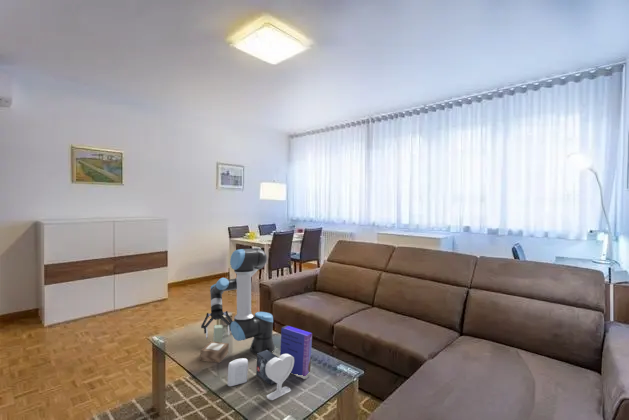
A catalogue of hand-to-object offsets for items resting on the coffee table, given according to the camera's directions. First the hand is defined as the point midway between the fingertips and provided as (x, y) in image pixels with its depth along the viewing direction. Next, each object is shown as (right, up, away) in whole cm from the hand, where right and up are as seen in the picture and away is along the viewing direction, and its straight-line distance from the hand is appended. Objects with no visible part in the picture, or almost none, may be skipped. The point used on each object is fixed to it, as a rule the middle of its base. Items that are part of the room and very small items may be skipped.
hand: (218, 336), depth 204 cm
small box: (+37, -9, -34) cm, 51 cm away
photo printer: (+22, -8, -40) cm, 46 cm away
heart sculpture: (+44, -9, -47) cm, 65 cm away
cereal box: (+51, -9, -27) cm, 59 cm away
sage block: (-1, -6, +1) cm, 6 cm away
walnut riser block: (+2, -6, -14) cm, 16 cm away
